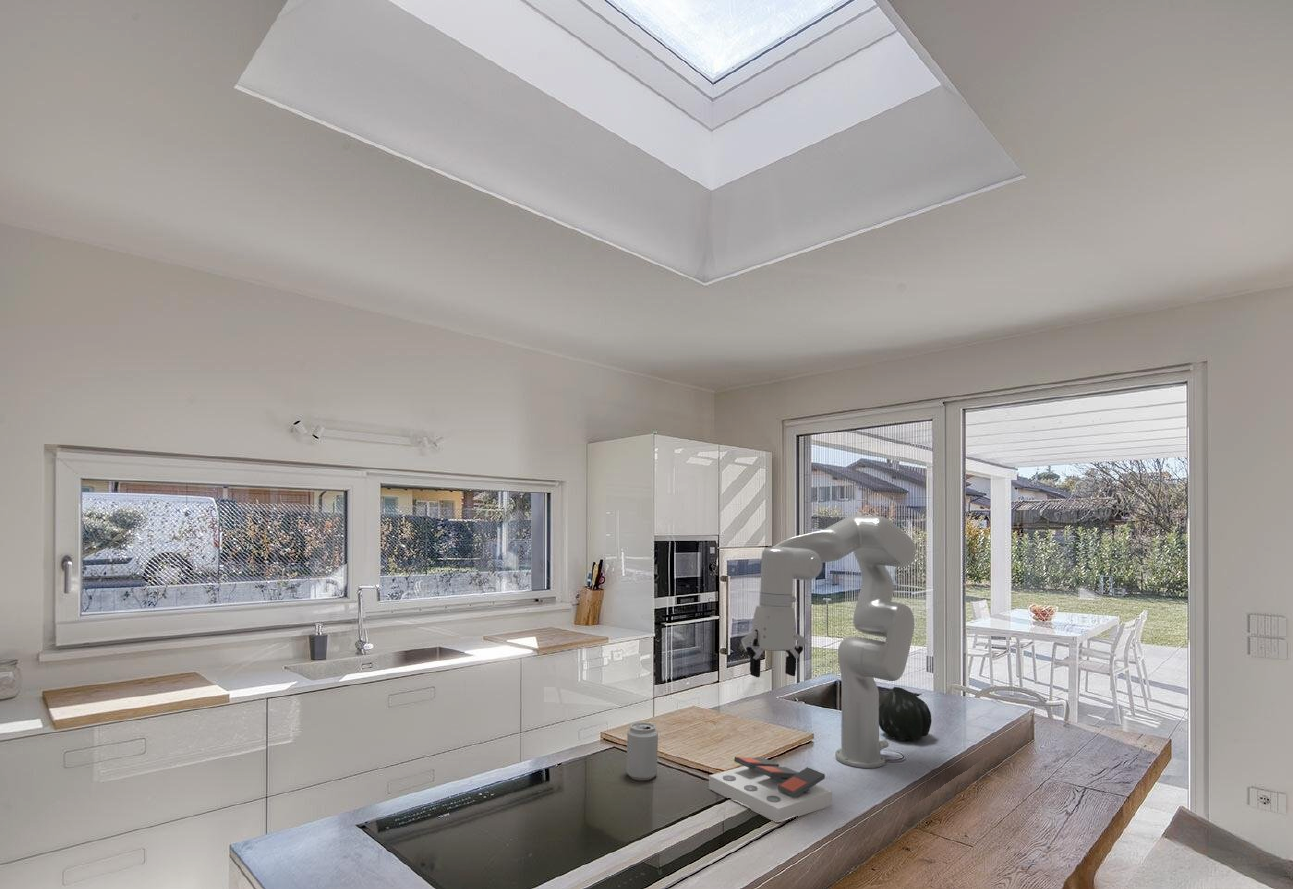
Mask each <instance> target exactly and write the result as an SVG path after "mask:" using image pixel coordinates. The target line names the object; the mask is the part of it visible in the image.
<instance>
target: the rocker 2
mask: <svg viewBox="0 0 1293 889" xmlns="http://www.w3.org/2000/svg"><path fill="white" fill-rule="evenodd" d="M798 772H799V773H797V774H795V775H794V776H792V777H791V778H789V779H787V780H786V781H784V782H782V783H781V784H779V785H777V786H778V790H780V791H782V792H784V793H786V794H788V795H791V796H793V797H797V796H798V795H800V794H801V793H803V792H804V791H806V790H808V789H809V788H811V787H812V786H814V785H817V784H818V783H820V782H821V781H823V780H826V775H825V773H822V772H821V771H818V770H815V769H813V768H811V767H808V766H807V767H806V768H804V769H801V770H800V771H798Z"/></svg>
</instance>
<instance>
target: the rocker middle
mask: <svg viewBox="0 0 1293 889" xmlns="http://www.w3.org/2000/svg"><path fill="white" fill-rule="evenodd" d="M755 771H757V772H760V773H762V774H764V775H766V776H769V777H773V778H791V777H792V776H794V775H795V774H797V773H799V772H800V771H796V770H794V769H792V768H789V767H787V766H779V767H771V766H756V768H755Z"/></svg>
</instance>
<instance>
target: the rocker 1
mask: <svg viewBox="0 0 1293 889" xmlns="http://www.w3.org/2000/svg"><path fill="white" fill-rule="evenodd" d="M733 762H734V763H737V764H739V765H741V766H746V767H748V768H756V766H771V767H780V764H779V763H777V762H774V761H772V760H769V759H767V758H765V757H747V756H746V757H745V756H735V757H734V761H733Z"/></svg>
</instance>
